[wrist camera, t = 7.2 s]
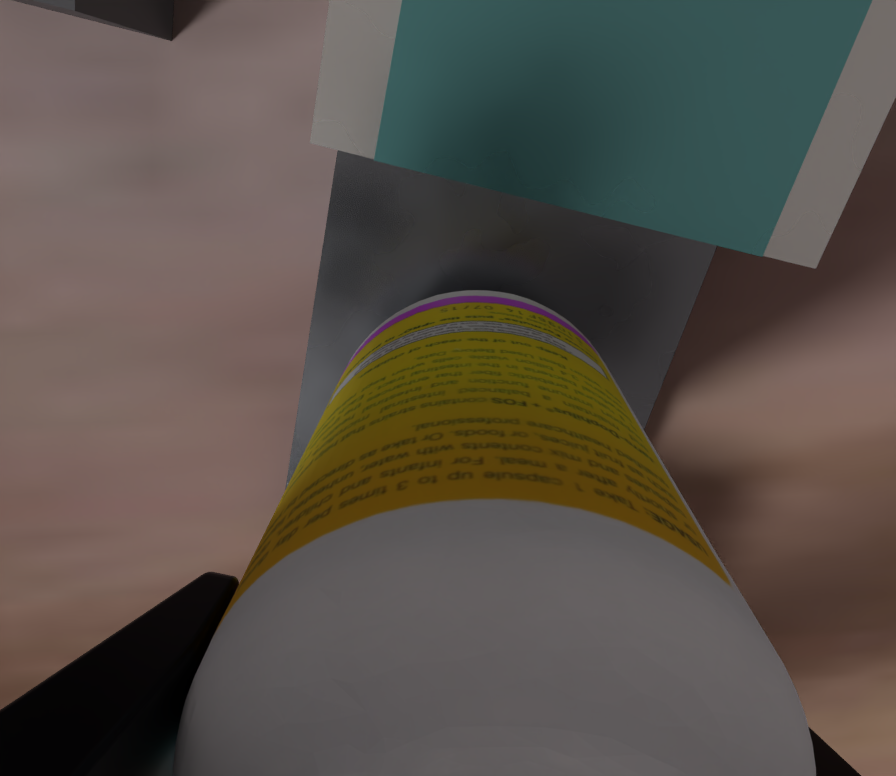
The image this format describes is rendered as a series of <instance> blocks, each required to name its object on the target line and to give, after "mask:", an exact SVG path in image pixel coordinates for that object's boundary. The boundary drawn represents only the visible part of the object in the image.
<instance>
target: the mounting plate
mask: <svg viewBox="0 0 896 776" xmlns="http://www.w3.org/2000/svg"><path fill="white" fill-rule="evenodd" d="M895 98H896V0H330V1H329V9H328V16H327V23H326V30H325V38H324V45H323V52H322V60H321V67H320V74H319V81H318V89H317V96H316V103H315V111H314V118H313V125H312V132H311V140H310V143H311V144H315V145H319V146H323V147H327V148H331V149H335V150H338V152H337V158H336V165H335V171H334V178H333V184H332V191H331V197H330V204H329V210H328V217H327V223H326V230H325V236H324V243H323V249H322V256H321V262H320V269H319V275H318V282H317V288H316V295H315V301H314V308H313V314H312V321H311V327H310V334H309V340H308V347H307V353H306V360H305V366H304V373H303V379H302V385H301V392H300V398H299V405H298V411H297V418H296V424H295V431H294V437H293V444H292V450H291V457H290V463H289V470H288V476H287V483H286V488H287V486H288V484H289V482H290V480H291V478H292V476H293V474H294V472H295V470H296V468H297V466H298V464H299V462H300V460H301V458H302V456H303V454H304V452H305V450H306V448H307V446H308V444H309V442H310V440H311V437H312V435H313V433H314V431H315V429H316V427H317V425H318V423H319V421H320V419H321V417H322V415H323V413H324V411H325V409H326V407H327V405H328V403H329V401H330V399H331V397H332V394H333V392H334V390H335V388H336V386H337V384H338V382H339V380H340V378H341V376H342V374H343V372H344V370H345V368H346V367H347V365H348V363H349V361H350V359H351V358H352V356H353V355H354V353H355V352H356V350H357V349H358V348H359V346H360V345H361V344H362V343H363V342H364V340H365V339H366V338H367V337H368V336H369V335H370V334H371V333H372V332H373V331H374V330H375V329H376V328H377V327H378V326H379V325H381V324H382V323H383V322H384V321H385V320H387V319H388V318H390V317H391V316H393V315H394V314H395V313H397V312H399V311H400V310H402V309H404V308H406V307H408V306H410V305H412V304H414V303H416V302H418V301H421V300H424V299H426V298H429V297H432V296H435V295H439V294H444V293H450V292H456V291H466V290H487V291H496V292H504V293H509V294H514V295H517V296H521V297H524V298H527V299H530V300H532V301H535V302H537V303H539V304H541V305H543V306H545V307H547V308H549V309H551V310H553V311H555V312H556V313H558V314H559V315H561V316H562V317H564V318H565V319H567V320H568V321H569V322H570V323H571V324H573V325H574V326H575V327H576V328H577V329H578V330H579V331H580V332H581V333H582V334H583V335H584V336H585V337H586V338H587V339H588V340H589V341H590V343H591V344H592V345H593V347H594V348H595V349H596V351H597V352H598V354H599V355H600V357H601V358H602V360H603V361H604V363H605V365H606V366H607V368H608V370H609V371H610V373H611V375H612V376H613V378H614V380H615V381H616V383H617V385H618V386H619V388H620V390H621V392H622V393H623V395H624V397H625V399H626V400H627V402H628V404H629V405H630V407H631V409H632V411H633V412H634V414H635V416H636V418H637V419H638V421H639V423H640V424H641V426H642V428H643V430H644V429H645V426H646V424H647V421H648V419H649V416H650V413H651V411H652V408H653V406H654V403H655V401H656V398H657V396H658V393H659V391H660V388H661V386H662V383H663V381H664V378H665V376H666V373H667V371H668V368H669V366H670V363H671V361H672V358H673V356H674V353H675V351H676V348H677V346H678V343H679V341H680V338H681V336H682V333H683V331H684V328H685V326H686V323H687V321H688V318H689V316H690V313H691V310H692V308H693V305H694V303H695V300H696V298H697V295H698V293H699V290H700V288H701V285H702V283H703V280H704V278H705V275H706V273H707V270H708V268H709V265H710V263H711V260H712V258H713V255H714V253H715V250H716V248H717V246H720V247H724V248H728V249H732V250H736V251H740V252H744V253H748V254H753V255H757V256H761V257H763V256H766V257H770V258H774V259H778V260H782V261H786V262H790V263H794V264H798V265H802V266H806V267H810V268H814V269H816V267H817V265H818V263H819V261H820V259H821V257H822V254H823V252H824V250H825V248H826V246H827V244H828V242H829V239H830V237H831V235H832V233H833V231H834V229H835V226H836V224H837V222H838V220H839V218H840V216H841V214H842V211H843V209H844V207H845V205H846V203H847V201H848V199H849V196H850V194H851V192H852V190H853V188H854V186H855V184H856V181H857V179H858V177H859V175H860V173H861V171H862V168H863V166H864V164H865V162H866V160H867V158H868V156H869V153H870V151H871V149H872V147H873V145H874V143H875V141H876V138H877V136H878V134H879V132H880V130H881V128H882V126H883V123H884V121H885V119H886V117H887V115H888V113H889V111H890V108H891V106H892V104H893V102H894V100H895ZM285 490H286V489H285Z"/></svg>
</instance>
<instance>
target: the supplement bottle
mask: <svg viewBox="0 0 896 776" xmlns="http://www.w3.org/2000/svg"><path fill="white" fill-rule="evenodd" d="M173 776H816V765H815V758H814V751H813V744H812V740H811V736H810V732H809V728H808V724H807V720H806V716H805V713H804V710H803V707H802V705H801V702H800V699H799V696H798V694H797V691H796V689H795V687H794V684H793V682H792V680H791V678H790V676H789V674H788V672H787V670H786V668H785V666H784V664H783V662H782V660H781V659H780V657H779V655H778V654H777V652H776V650H775V649H774V647H773V645H772V644H771V642H770V640H769V639H768V637H767V636H766V634H765V632H764V631H763V629H762V627H761V626H760V624H759V622H758V621H757V619H756V617H755V616H754V614H753V612H752V611H751V609H750V607H749V606H748V604H747V602H746V601H745V599H744V597H743V596H742V594H741V592H740V591H739V589H738V588H737V586H736V584H735V583H734V581H733V579H732V578H731V576H730V575H729V573H728V571H727V570H726V568H725V566H724V565H723V563H722V562H721V560H720V558H719V557H718V555H717V553H716V552H715V550H714V548H713V547H712V545H711V543H710V542H709V540H708V538H707V537H706V535H705V533H704V531H703V530H702V528H701V526H700V525H699V523H698V521H697V520H696V518H695V516H694V515H693V513H692V511H691V509H690V508H689V506H688V504H687V503H686V501H685V499H684V498H683V496H682V494H681V493H680V491H679V489H678V488H677V486H676V484H675V482H674V481H673V479H672V477H671V476H670V474H669V472H668V471H667V469H666V467H665V465H664V464H663V462H662V460H661V459H660V457H659V455H658V453H657V452H656V450H655V448H654V447H653V445H652V443H651V442H650V440H649V438H648V436H647V435H646V433H645V431H644V430H643V428H642V426H641V424H640V423H639V421H638V419H637V418H636V416H635V414H634V412H633V411H632V409H631V407H630V405H629V404H628V402H627V400H626V399H625V397H624V395H623V393H622V392H621V390H620V388H619V386H618V385H617V383H616V381H615V380H614V378H613V376H612V375H611V373H610V371H609V370H608V368H607V366H606V365H605V363H604V361H603V360H602V358H601V357H600V355H599V354H598V352H597V351H596V349H595V348H594V347H593V345H592V344H591V343H590V341H589V340H588V339H587V338H586V337H585V336H584V335H583V334H582V333H581V332H580V331H579V330H578V329H577V328H576V327H575V326H574V325H573V324H571V323H570V322H569V321H568V320H567V319H565V318H564V317H562V316H561V315H559V314H558V313H556V312H555V311H553V310H551V309H549V308H547V307H545V306H543V305H541V304H539V303H537V302H535V301H532V300H530V299H527V298H524V297H521V296H517V295H514V294H509V293H504V292H496V291H487V290H466V291H456V292H450V293H444V294H439V295H435V296H432V297H429V298H426V299H424V300H421V301H418V302H416V303H414V304H412V305H410V306H408V307H406V308H404V309H402V310H400V311H399V312H397V313H395V314H394V315H393V316H391V317H390V318H388V319H387V320H385V321H384V322H383V323H382V324H381V325H379V326H378V327H377V328H376V329H375V330H374V331H373V332H372V333H371V334H370V335H369V336H368V337H367V338H366V339H365V340H364V342H363V343H362V344H361V345H360V346H359V348H358V349H357V350H356V352H355V353H354V355H353V356H352V358H351V359H350V361H349V363H348V365H347V367H346V368H345V370H344V372H343V374H342V376H341V378H340V380H339V382H338V384H337V386H336V388H335V390H334V392H333V394H332V397H331V399H330V401H329V403H328V405H327V407H326V409H325V411H324V413H323V415H322V417H321V419H320V421H319V423H318V425H317V427H316V429H315V431H314V433H313V435H312V437H311V440H310V442H309V444H308V446H307V448H306V450H305V452H304V454H303V456H302V458H301V460H300V462H299V464H298V466H297V468H296V470H295V472H294V474H293V476H292V478H291V480H290V482H289V484H288V486H287V488H286V490H285V492H284V495H283V497H282V499H281V501H280V503H279V505H278V507H277V509H276V511H275V513H274V515H273V517H272V519H271V521H270V523H269V525H268V527H267V529H266V531H265V533H264V535H263V537H262V539H261V541H260V543H259V545H258V547H257V549H256V551H255V553H254V556H253V558H252V560H251V562H250V564H249V566H248V568H247V570H246V572H245V574H244V576H243V578H242V580H241V582H240V584H239V586H238V588H237V590H236V592H235V594H234V596H233V598H232V600H231V602H230V604H229V606H228V607H227V609H226V611H225V613H224V615H223V617H222V619H221V621H220V623H219V625H218V627H217V629H216V631H215V633H214V635H213V637H212V640H211V642H210V644H209V646H208V649H207V651H206V653H205V655H204V657H203V659H202V661H201V663H200V666H199V668H198V670H197V672H196V674H195V676H194V679H193V681H192V684H191V686H190V689H189V692H188V695H187V697H186V700H185V703H184V707H183V711H182V715H181V719H180V724H179V729H178V734H177V739H176V744H175V752H174V762H173Z"/></svg>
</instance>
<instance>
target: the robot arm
mask: <svg viewBox="0 0 896 776" xmlns="http://www.w3.org/2000/svg"><path fill="white" fill-rule="evenodd" d="M238 586H239V581H238V579H237V578H236V577H234V576H230V575H225V574H220V573H215V572H207V573H204V574H203V575H201V576H200V577H198V578H197V579H195V580H194V581H192V582H191V583H189V584H188V585H186V586H185V587H183V588H182V589H180V590H179V591H177V592H176V593H174V594H173V595H171V596H170V597H168V598H167V599H165V600H164V601H162V602H161V603H159V604H158V605H156V606H155V607H153V608H152V609H150V610H149V611H147V612H146V613H144V614H143V615H141V616H140V617H138V618H137V619H135V620H134V621H133V622H131V623H130V624H128V625H127V626H125V627H124V628H122V629H121V630H119V631H118V632H116V633H115V634H113V635H112V636H110V637H109V638H107V639H106V640H104V641H103V642H101V643H100V644H98V645H97V646H95V647H94V648H92V649H91V650H89V651H88V652H86V653H85V654H83V655H82V656H80V657H79V658H77V659H76V660H74V661H73V662H71V663H70V664H68V665H67V666H65V667H64V668H62V669H61V670H59V671H58V672H56V673H55V674H53V675H52V676H50V677H49V678H47V679H46V680H45V681H43V682H42V683H40V684H39V685H37V686H36V687H34V688H33V689H31V690H30V691H28V692H27V693H25V694H24V695H22V696H21V697H19V698H18V699H16V700H15V701H13V702H12V703H10V704H9V705H7V706H6V707H4V708H3V709H1V710H0V776H173V762H174V752H175V744H176V739H177V734H178V729H179V724H180V719H181V715H182V711H183V707H184V703H185V700H186V697H187V695H188V692H189V689H190V686H191V684H192V681H193V679H194V676H195V674H196V672H197V670H198V668H199V666H200V663H201V661H202V659H203V657H204V655H205V653H206V651H207V649H208V646H209V644H210V642H211V640H212V637H213V635H214V633H215V631H216V629H217V627H218V625H219V623H220V621H221V619H222V617H223V615H224V613H225V611H226V609H227V607H228V606H229V604H230V602H231V600H232V598H233V596H234V594H235V592H236V590H237V588H238ZM808 728H809V727H808ZM809 732H810V736H811V740H812V744H813V751H814V758H815V765H816V776H861V775H860V774H859V773H858V772H857V771H856V770H854V769H853V768H852V767H851V766H850V765H849V764H848V763H847V762H846V761H845V760H844V759H843V758H842V757H840V756H839V755H838V754H837V753H836V752H835V751H834V750H833V749H832V748H831V747H830V746H829V745H828V744H826V743H825V742H824V741H823V740H822V739H821V738H820V737H819V736H818V735H817V734H816V733H815V732H814V731H812V730H811V729H810V728H809Z"/></svg>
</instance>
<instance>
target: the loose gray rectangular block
mask: <svg viewBox="0 0 896 776" xmlns="http://www.w3.org/2000/svg"><path fill="white" fill-rule="evenodd" d="M13 1H17V2H21V3H25V4H29V5H33V6H37V7H41V8H45V9H48V10H52V11H56V12H60V13H64V14H68V15H72V16H76V17H80V18H84V19H88V20H92V21H96V22H99V23H103V24H107V25H111V26H115V27H119V28H123V29H127V30H131V31H135V32H139V33H143V34H147V35H151V36H154V37H158V38H162V39H166V40H170V41H172V28H173V10H174V0H13Z"/></svg>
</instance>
